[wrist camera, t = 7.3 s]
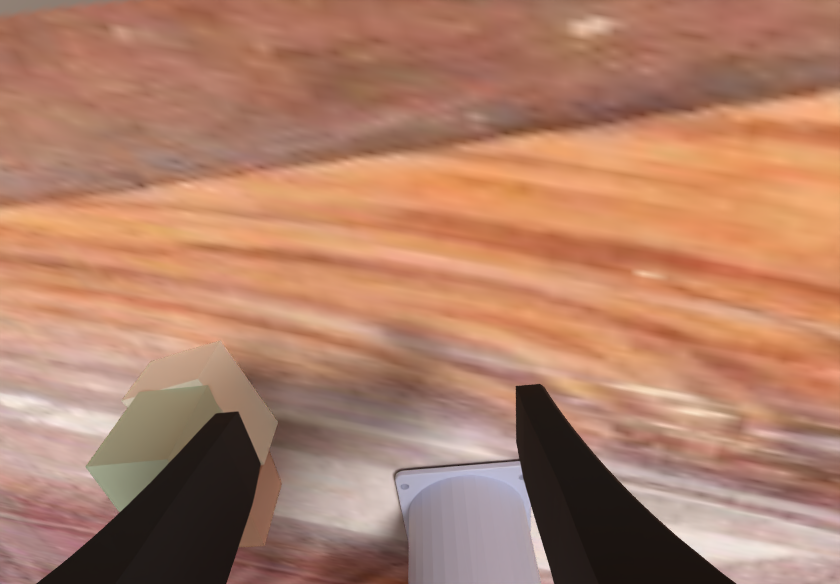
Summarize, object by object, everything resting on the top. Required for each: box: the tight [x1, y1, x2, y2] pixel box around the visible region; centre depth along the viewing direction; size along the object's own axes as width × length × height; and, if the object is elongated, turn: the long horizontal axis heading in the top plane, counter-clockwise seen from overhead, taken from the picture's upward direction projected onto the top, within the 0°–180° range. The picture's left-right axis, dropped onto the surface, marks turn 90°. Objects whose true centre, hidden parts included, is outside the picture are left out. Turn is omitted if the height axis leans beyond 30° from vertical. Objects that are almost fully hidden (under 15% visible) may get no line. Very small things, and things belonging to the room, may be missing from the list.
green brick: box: [86, 385, 221, 512], centre depth 21 cm, size 6×3×4 cm, turn 7°
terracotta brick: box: [239, 451, 282, 547], centre depth 27 cm, size 6×3×4 cm, turn 95°
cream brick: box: [122, 340, 278, 465], centre depth 24 cm, size 6×4×3 cm, turn 19°
